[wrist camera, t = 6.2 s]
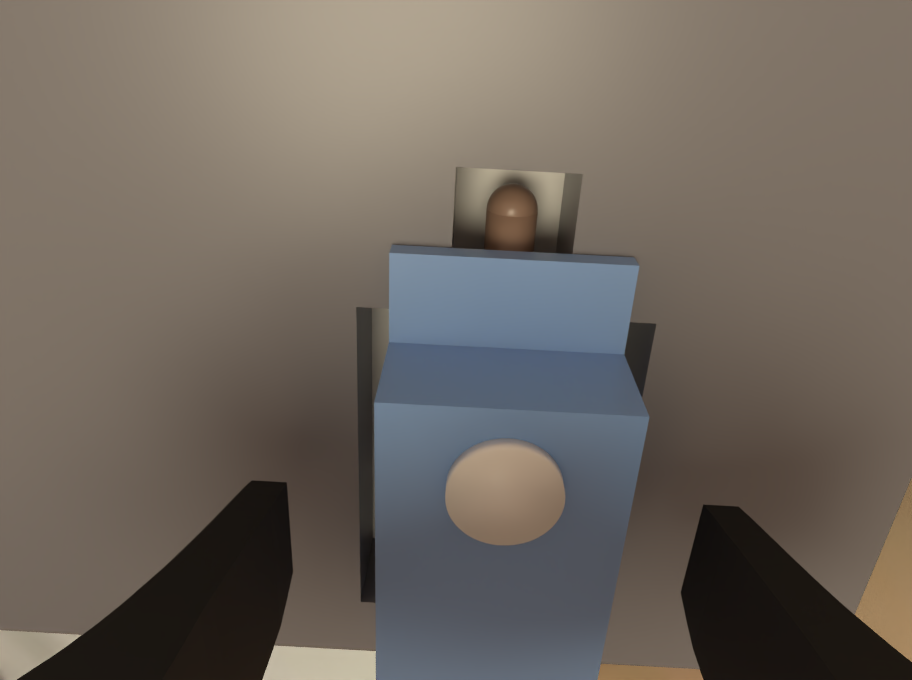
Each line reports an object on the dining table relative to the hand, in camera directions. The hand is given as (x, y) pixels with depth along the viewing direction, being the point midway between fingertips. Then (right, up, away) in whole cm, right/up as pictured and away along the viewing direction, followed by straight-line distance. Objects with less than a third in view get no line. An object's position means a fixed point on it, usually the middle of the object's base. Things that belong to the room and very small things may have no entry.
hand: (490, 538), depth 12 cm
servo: (0, +2, +3) cm, 4 cm away
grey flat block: (-3, +5, +3) cm, 6 cm away
